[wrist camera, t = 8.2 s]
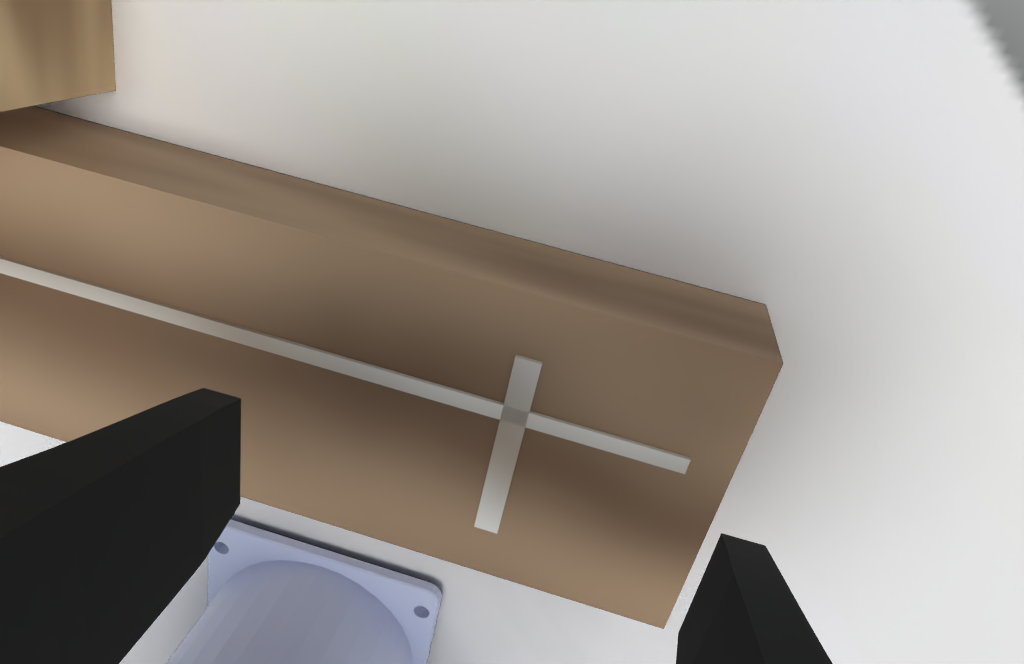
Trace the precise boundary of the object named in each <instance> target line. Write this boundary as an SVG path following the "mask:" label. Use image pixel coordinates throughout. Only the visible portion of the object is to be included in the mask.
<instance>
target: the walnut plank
mask: <svg viewBox="0 0 1024 664" xmlns="http://www.w3.org/2000/svg"><path fill="white" fill-rule="evenodd" d="M782 365H783V361H782V357H781V354H780V350H779V347H778V344H777V340H776V337H775V334H774V330H773V327H772V324H771V320H770V317H769V314H768V310H767V307H766V305H764V304H760V303H757V302H753V301H749V300H746V299H742V298H738V297H735V296H731V295H727V294H724V293H720V292H716V291H713V290H709V289H705V288H701V287H698V286H694V285H690V284H687V283H683V282H679V281H676V280H672V279H668V278H665V277H661V276H657V275H654V274H650V273H646V272H642V271H639V270H635V269H631V268H628V267H624V266H620V265H617V264H613V263H609V262H606V261H602V260H598V259H594V258H591V257H587V256H583V255H580V254H576V253H572V252H569V251H565V250H561V249H558V248H554V247H550V246H547V245H543V244H539V243H535V242H532V241H528V240H524V239H521V238H517V237H513V236H510V235H506V234H502V233H499V232H495V231H491V230H488V229H484V228H480V227H476V226H473V225H469V224H465V223H462V222H458V221H454V220H451V219H447V218H443V217H440V216H436V215H432V214H428V213H425V212H421V211H417V210H414V209H410V208H406V207H403V206H399V205H395V204H392V203H388V202H384V201H381V200H377V199H373V198H369V197H366V196H362V195H358V194H355V193H351V192H347V191H344V190H340V189H336V188H333V187H329V186H325V185H321V184H318V183H314V182H310V181H307V180H303V179H299V178H296V177H292V176H288V175H285V174H281V173H277V172H274V171H270V170H266V169H262V168H259V167H255V166H251V165H248V164H244V163H240V162H237V161H233V160H229V159H226V158H222V157H218V156H215V155H211V154H207V153H203V152H200V151H196V150H192V149H189V148H185V147H181V146H178V145H174V144H170V143H167V142H163V141H159V140H155V139H152V138H148V137H144V136H141V135H137V134H133V133H130V132H126V131H122V130H119V129H115V128H111V127H108V126H104V125H100V124H96V123H93V122H89V121H85V120H82V119H78V118H74V117H71V116H67V115H63V114H60V113H56V112H52V111H49V110H45V109H41V108H37V107H34V106H29V107H23V108H18V109H13V110H7V111H2V112H0V421H1V422H4V423H8V424H11V425H14V426H17V427H20V428H24V429H27V430H30V431H33V432H36V433H40V434H43V435H46V436H49V437H52V438H56V439H59V440H62V441H65V442H69V441H71V440H74V439H76V438H79V437H81V436H84V435H86V434H89V433H91V432H94V431H96V430H99V429H101V428H104V427H106V426H108V425H111V424H113V423H116V422H118V421H121V420H123V419H126V418H128V417H130V416H133V415H135V414H138V413H140V412H142V411H145V410H147V409H150V408H152V407H155V406H157V405H159V404H162V403H164V402H167V401H169V400H172V399H174V398H177V397H179V396H182V395H185V394H187V393H190V392H193V391H196V390H199V389H201V388H206V389H210V390H213V391H217V392H220V393H224V394H228V395H231V396H235V397H238V398H241V465H240V496H241V497H244V498H247V499H250V500H254V501H257V502H260V503H263V504H266V505H270V506H273V507H276V508H279V509H282V510H286V511H289V512H292V513H295V514H298V515H302V516H305V517H308V518H311V519H314V520H317V521H321V522H324V523H327V524H330V525H333V526H337V527H340V528H343V529H346V530H349V531H353V532H356V533H359V534H362V535H365V536H369V537H372V538H375V539H378V540H381V541H385V542H388V543H391V544H394V545H397V546H401V547H404V548H407V549H410V550H413V551H417V552H420V553H423V554H426V555H429V556H432V557H436V558H439V559H442V560H445V561H448V562H452V563H455V564H458V565H461V566H464V567H468V568H471V569H474V570H477V571H480V572H484V573H487V574H490V575H493V576H496V577H500V578H503V579H506V580H509V581H512V582H516V583H519V584H522V585H525V586H528V587H532V588H535V589H538V590H541V591H544V592H547V593H551V594H554V595H557V596H560V597H563V598H567V599H570V600H573V601H576V602H579V603H583V604H586V605H589V606H592V607H595V608H599V609H602V610H605V611H608V612H611V613H615V614H618V615H621V616H624V617H627V618H631V619H634V620H637V621H640V622H643V623H646V624H650V625H653V626H656V627H659V628H662V629H664V627H665V625H666V623H667V620H668V618H669V616H670V614H671V611H672V609H673V607H674V605H675V603H676V600H677V598H678V596H679V594H680V591H681V589H682V587H683V585H684V583H685V580H686V578H687V576H688V574H689V572H690V569H691V567H692V565H693V563H694V560H695V558H696V556H697V554H698V552H699V549H700V547H701V545H702V543H703V540H704V538H705V536H706V534H707V532H708V529H709V527H710V525H711V523H712V521H713V518H714V516H715V514H716V512H717V509H718V507H719V505H720V503H721V501H722V498H723V496H724V494H725V492H726V489H727V487H728V485H729V483H730V481H731V478H732V476H733V474H734V472H735V470H736V467H737V465H738V463H739V461H740V458H741V456H742V454H743V452H744V450H745V447H746V445H747V443H748V441H749V438H750V436H751V434H752V432H753V430H754V427H755V425H756V423H757V421H758V419H759V416H760V414H761V412H762V410H763V407H764V405H765V403H766V401H767V399H768V396H769V394H770V392H771V390H772V387H773V385H774V383H775V381H776V379H777V376H778V374H779V372H780V370H781V368H782Z"/></svg>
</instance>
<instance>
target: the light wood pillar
mask: <svg viewBox="0 0 1024 664" xmlns="http://www.w3.org/2000/svg"><path fill="white" fill-rule="evenodd" d="M115 90H116V82H115V63H114V44H113V24H112V5H111V0H0V112H2V111H7V110H13V109H18V108H23V107H29V106H34V105H40V104H45V103H50V102H56V101H61V100H67V99H72V98H77V97H83V96H88V95H94V94H99V93H104V92H110V91H115Z"/></svg>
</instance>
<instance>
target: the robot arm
mask: <svg viewBox="0 0 1024 664" xmlns="http://www.w3.org/2000/svg"><path fill="white" fill-rule="evenodd" d="M240 465H241V398H238V397H235V396H231V395H228V394H224V393H220V392H217V391H213V390H210V389H206V388H201V389H199V390H196V391H193V392H190V393H187V394H185V395H182V396H179V397H177V398H174V399H172V400H169V401H167V402H164V403H162V404H159V405H157V406H155V407H152V408H150V409H147V410H145V411H142V412H140V413H138V414H135V415H133V416H130V417H128V418H126V419H123V420H121V421H118V422H116V423H113V424H111V425H108V426H106V427H104V428H101V429H99V430H96V431H94V432H91V433H89V434H86V435H84V436H81V437H79V438H76V439H74V440H71V441H69V442H67V443H64V444H62V445H59V446H57V447H54V448H51V449H49V450H46V451H43V452H40V453H38V454H35V455H32V456H29V457H27V458H24V459H21V460H19V461H16V462H13V463H10V464H8V465H5V466H2V467H0V664H119V663H120V662H121V660H122V659H123V658H124V657H125V656H126V654H127V653H128V652H129V651H130V650H131V648H132V647H133V646H134V645H135V644H136V642H137V641H138V640H139V639H140V638H141V636H142V635H143V634H144V633H145V632H146V630H147V629H148V628H149V627H150V626H151V624H152V623H153V622H154V621H155V620H156V618H157V617H158V616H159V615H160V614H161V612H162V611H163V610H164V609H165V608H166V606H167V605H168V604H169V603H170V602H171V600H172V599H173V598H174V597H175V596H176V594H177V593H178V592H179V591H180V589H181V588H182V587H183V586H184V585H185V583H186V582H187V581H188V580H189V578H190V577H191V576H192V575H193V574H194V572H195V571H196V570H197V569H198V567H199V566H200V565H201V564H202V562H203V561H204V560H205V558H206V557H207V555H208V608H207V609H206V610H205V612H204V613H203V614H202V616H201V617H200V618H199V620H198V621H197V622H196V624H195V625H194V626H193V628H192V629H191V630H190V632H189V633H188V634H187V636H186V637H185V638H184V640H183V641H182V642H181V644H180V645H179V646H178V648H177V649H176V650H175V652H174V653H173V654H172V656H171V657H170V658H169V660H168V661H167V662H166V664H427V660H428V655H429V651H430V647H431V642H432V638H433V634H434V629H435V625H436V621H437V616H438V612H439V607H440V603H441V599H442V594H441V592H440V590H439V588H438V587H436V586H435V585H434V584H432V583H430V582H427V581H424V580H420V579H417V578H414V577H411V576H408V575H405V574H401V573H398V572H395V571H392V570H389V569H386V568H382V567H379V566H376V565H373V564H370V563H367V562H363V561H360V560H357V559H354V558H351V557H348V556H345V555H341V554H338V553H335V552H332V551H329V550H326V549H322V548H319V547H316V546H313V545H310V544H307V543H303V542H300V541H297V540H294V539H291V538H288V537H284V536H281V535H278V534H275V533H272V532H269V531H266V530H262V529H259V528H256V527H253V526H250V525H247V524H243V523H240V522H237V521H234V520H231V517H232V516H233V514H234V513H235V511H236V509H237V508H238V506H239V504H240ZM421 606H423V607H425V608H423V607H421ZM426 608H427V609H426ZM676 664H832V662H831V660H830V659H829V657H828V655H827V654H826V652H825V650H824V649H823V647H822V645H821V643H820V642H819V640H818V638H817V637H816V635H815V633H814V631H813V630H812V628H811V626H810V624H809V622H808V621H807V619H806V617H805V615H804V614H803V612H802V610H801V608H800V607H799V605H798V603H797V601H796V599H795V598H794V596H793V594H792V592H791V591H790V589H789V587H788V585H787V583H786V582H785V580H784V578H783V576H782V574H781V573H780V571H779V569H778V567H777V565H776V564H775V562H774V560H773V558H772V557H771V555H770V553H769V551H768V550H767V548H766V546H764V545H761V544H757V543H754V542H750V541H747V540H743V539H740V538H736V537H732V536H729V535H725V534H722V533H721V536H720V538H719V540H718V543H717V545H716V547H715V550H714V552H713V554H712V557H711V559H710V561H709V564H708V566H707V568H706V570H705V573H704V575H703V577H702V580H701V582H700V584H699V587H698V589H697V591H696V594H695V596H694V598H693V601H692V603H691V605H690V608H689V610H688V612H687V615H686V617H685V619H684V622H683V624H682V626H681V629H680V631H679V633H678V646H677V658H676Z"/></svg>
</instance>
